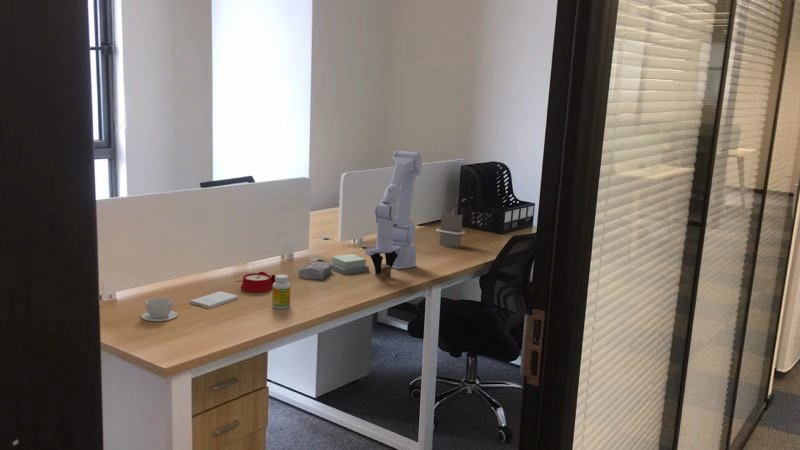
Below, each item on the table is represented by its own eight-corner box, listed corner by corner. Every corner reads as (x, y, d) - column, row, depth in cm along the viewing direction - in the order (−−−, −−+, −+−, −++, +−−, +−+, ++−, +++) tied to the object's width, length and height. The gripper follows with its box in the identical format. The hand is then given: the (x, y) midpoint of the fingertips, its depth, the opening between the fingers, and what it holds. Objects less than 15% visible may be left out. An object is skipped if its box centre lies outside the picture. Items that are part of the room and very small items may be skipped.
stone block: (297, 283, 257) (324, 280, 255) (295, 269, 257) (322, 267, 254) (308, 275, 269) (333, 273, 267) (306, 262, 268) (331, 260, 266)
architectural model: (434, 238, 332) (436, 206, 329) (485, 247, 320) (487, 214, 317) (414, 245, 315) (416, 212, 312) (466, 255, 303) (469, 221, 300)
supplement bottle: (279, 310, 221) (280, 279, 219) (268, 305, 225) (269, 275, 223) (293, 306, 225) (294, 276, 223) (282, 302, 229) (283, 272, 227)
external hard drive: (238, 300, 230) (209, 310, 219) (219, 295, 234) (190, 304, 224) (238, 295, 230) (209, 305, 219) (219, 290, 234) (189, 299, 223)
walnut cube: (384, 274, 267) (384, 263, 266) (390, 277, 263) (391, 266, 263) (375, 275, 264) (375, 265, 263) (381, 278, 261) (381, 267, 260)
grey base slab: (352, 265, 279) (353, 259, 279) (368, 273, 270) (369, 266, 270) (328, 269, 273) (328, 262, 272) (343, 276, 264) (343, 269, 263)
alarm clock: (231, 278, 239) (263, 260, 251) (234, 295, 242) (265, 277, 253) (254, 285, 234) (285, 266, 245) (257, 302, 236) (288, 282, 247)
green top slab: (352, 260, 278) (352, 253, 277) (365, 265, 271) (365, 259, 270) (332, 262, 272) (332, 256, 272) (345, 268, 265) (345, 262, 265)
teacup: (181, 319, 209) (181, 304, 208) (146, 324, 204) (145, 308, 203) (171, 309, 217) (171, 294, 216) (137, 314, 212) (136, 298, 211)
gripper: (374, 240, 253) (372, 277, 256) (407, 236, 262) (405, 273, 265) (363, 236, 259) (361, 272, 262) (396, 232, 267) (394, 268, 270)
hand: (383, 272), depth 264 cm, fingers closed on walnut cube, 4 cm apart
